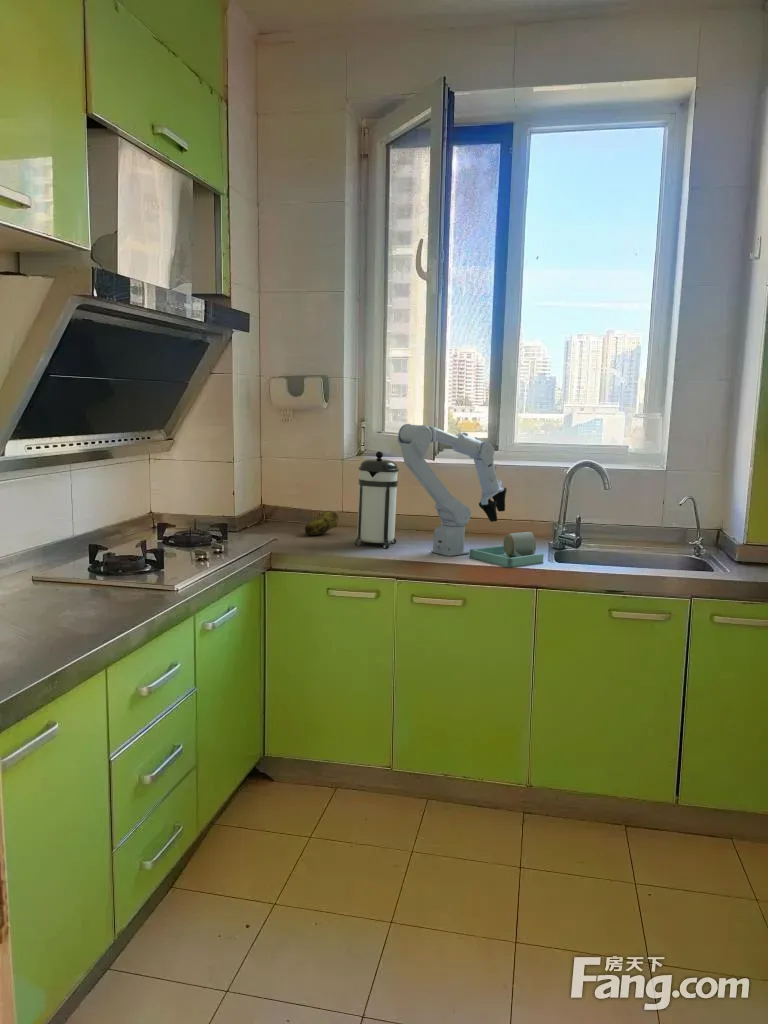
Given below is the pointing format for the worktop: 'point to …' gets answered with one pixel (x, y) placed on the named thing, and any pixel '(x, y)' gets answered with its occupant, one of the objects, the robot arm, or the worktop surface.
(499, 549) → the tray
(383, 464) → the coffee press
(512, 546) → the ceramic mug
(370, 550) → the worktop surface
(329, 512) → the olive green rounded lump
